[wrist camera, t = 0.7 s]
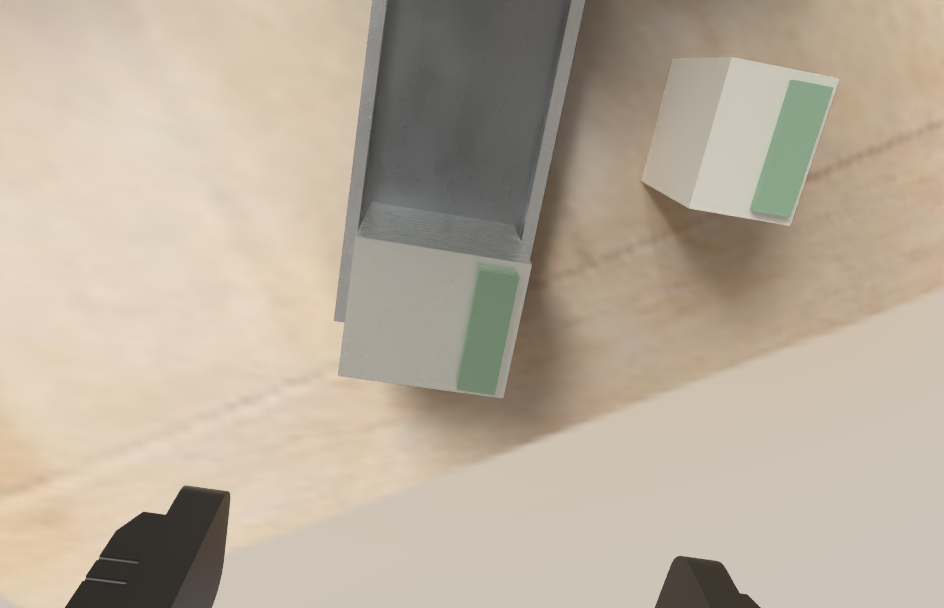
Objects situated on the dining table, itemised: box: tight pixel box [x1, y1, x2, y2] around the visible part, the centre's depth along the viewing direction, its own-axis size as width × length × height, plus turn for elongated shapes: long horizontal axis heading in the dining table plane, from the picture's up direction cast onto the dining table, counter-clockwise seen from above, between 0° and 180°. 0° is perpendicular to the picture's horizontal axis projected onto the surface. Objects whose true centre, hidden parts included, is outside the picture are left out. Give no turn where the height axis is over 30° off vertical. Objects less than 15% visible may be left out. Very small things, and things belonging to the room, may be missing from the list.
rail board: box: [334, 0, 585, 399], centre depth 29 cm, size 24×9×9 cm, turn 170°
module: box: [641, 57, 840, 226], centre depth 31 cm, size 6×4×7 cm
